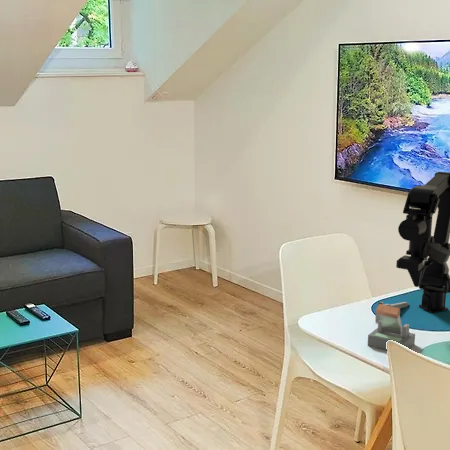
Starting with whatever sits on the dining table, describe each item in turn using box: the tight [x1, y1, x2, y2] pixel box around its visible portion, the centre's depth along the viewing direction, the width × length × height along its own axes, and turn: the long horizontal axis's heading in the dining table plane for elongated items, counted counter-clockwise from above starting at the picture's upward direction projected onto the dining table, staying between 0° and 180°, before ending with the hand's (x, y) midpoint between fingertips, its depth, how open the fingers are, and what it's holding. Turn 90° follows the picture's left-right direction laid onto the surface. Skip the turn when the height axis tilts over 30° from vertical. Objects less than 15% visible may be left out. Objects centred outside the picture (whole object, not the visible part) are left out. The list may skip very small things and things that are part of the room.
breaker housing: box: [367, 320, 416, 351], centre depth 192 cm, size 8×10×6 cm
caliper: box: [375, 301, 410, 323], centre depth 215 cm, size 20×1×6 cm, turn 141°
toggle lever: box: [375, 304, 403, 335], centre depth 190 cm, size 2×6×9 cm
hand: (416, 286), depth 203 cm, fingers closed
